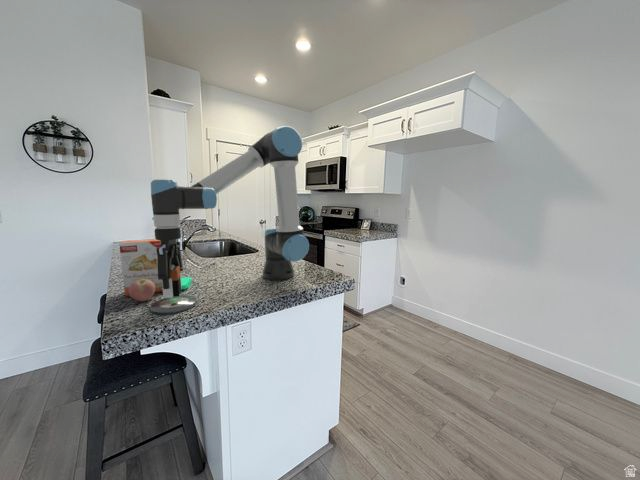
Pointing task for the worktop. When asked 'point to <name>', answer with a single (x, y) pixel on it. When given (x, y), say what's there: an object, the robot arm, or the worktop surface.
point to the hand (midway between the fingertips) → (173, 293)
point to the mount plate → (173, 304)
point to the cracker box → (140, 262)
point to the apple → (142, 289)
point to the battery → (175, 280)
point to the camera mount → (186, 282)
